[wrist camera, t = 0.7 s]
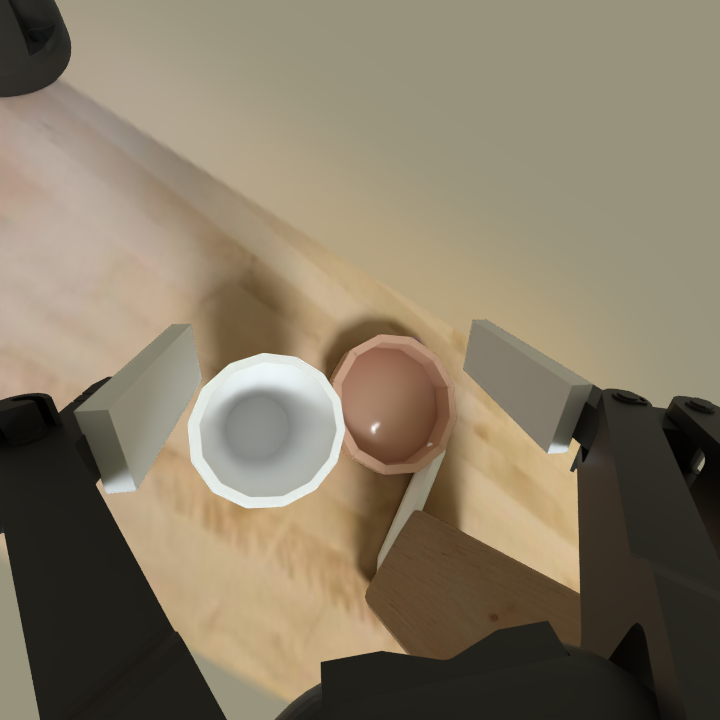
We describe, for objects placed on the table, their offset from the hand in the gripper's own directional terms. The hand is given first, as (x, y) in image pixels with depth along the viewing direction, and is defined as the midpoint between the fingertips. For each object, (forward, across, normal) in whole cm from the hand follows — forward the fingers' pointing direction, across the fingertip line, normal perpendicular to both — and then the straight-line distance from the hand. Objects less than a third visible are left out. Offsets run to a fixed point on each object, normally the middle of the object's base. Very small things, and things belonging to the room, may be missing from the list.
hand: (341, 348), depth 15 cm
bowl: (+17, +7, -14) cm, 23 cm away
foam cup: (+13, -7, -14) cm, 20 cm away
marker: (+10, +8, -24) cm, 27 cm away
